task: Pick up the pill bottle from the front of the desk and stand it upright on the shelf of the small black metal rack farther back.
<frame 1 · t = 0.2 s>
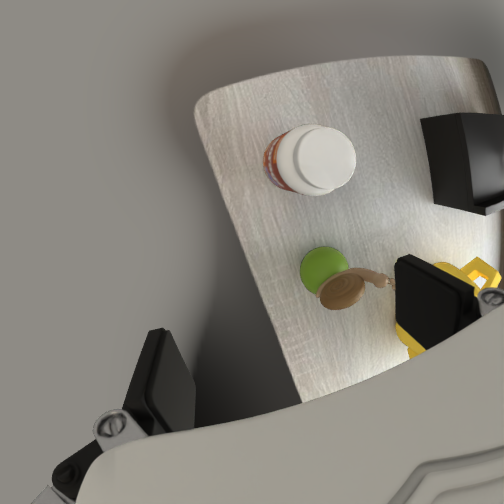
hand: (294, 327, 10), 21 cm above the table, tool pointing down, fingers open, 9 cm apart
pill bottle: (289, 162, 30), on the table
snail figurine: (319, 261, 33), on the table
rack: (462, 156, 32), on the table
teapot: (426, 306, 38), on the table
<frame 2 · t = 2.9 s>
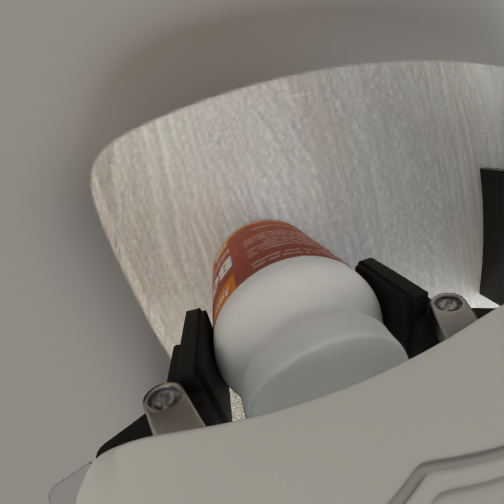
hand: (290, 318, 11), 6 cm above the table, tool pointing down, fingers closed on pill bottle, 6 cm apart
pill bottle: (264, 268, 17), on the table, touching gripper
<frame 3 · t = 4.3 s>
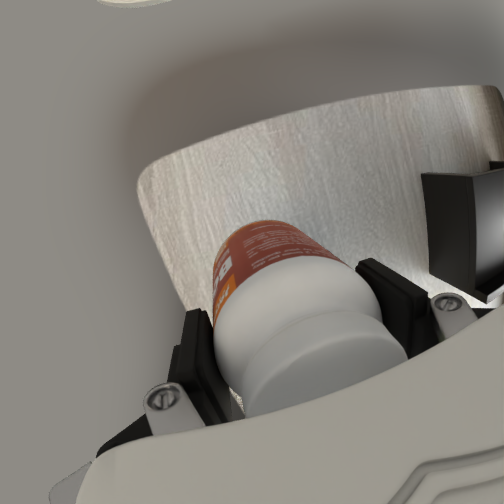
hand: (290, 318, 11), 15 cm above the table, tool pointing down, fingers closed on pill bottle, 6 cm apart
pill bottle: (264, 269, 17), point 9 cm above the table, touching gripper
rack: (467, 212, 28), on the table
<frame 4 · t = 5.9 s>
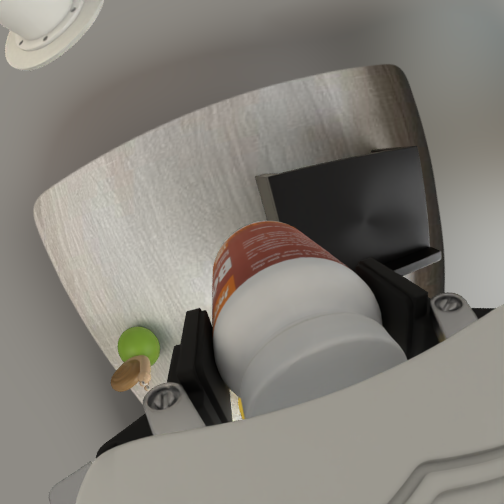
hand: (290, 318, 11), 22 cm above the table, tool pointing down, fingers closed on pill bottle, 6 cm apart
pill bottle: (264, 269, 17), point 15 cm above the table, touching gripper
snail figurine: (146, 334, 34), on the table
rack: (333, 209, 33), on the table
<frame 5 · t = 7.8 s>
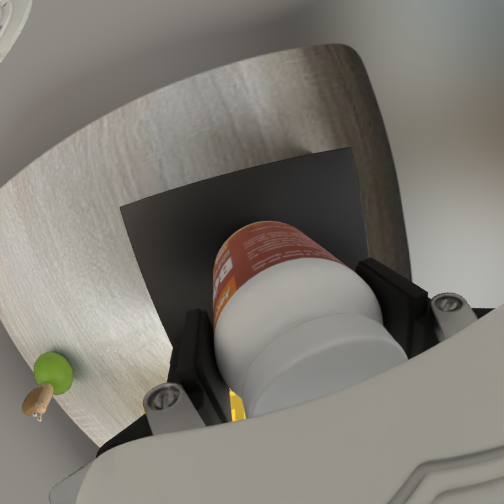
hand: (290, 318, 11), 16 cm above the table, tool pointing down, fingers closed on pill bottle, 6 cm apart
pill bottle: (265, 270, 17), point 10 cm above the table, touching gripper
snail figurine: (63, 359, 28), on the table
rack: (247, 234, 27), on the table
teapot: (216, 413, 33), on the table
when the fingers open (14 cm above the table, at t = 9.0 s): pill bottle stays where it is, resting on rack.
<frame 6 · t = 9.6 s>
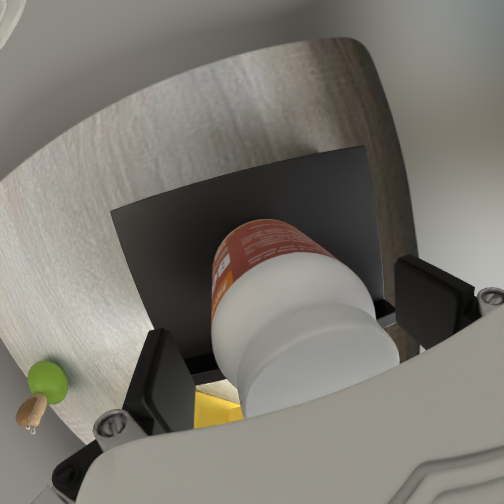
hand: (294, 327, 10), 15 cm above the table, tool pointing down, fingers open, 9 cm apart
pill bottle: (263, 267, 17), point 8 cm above the table, touching rack
snail figurine: (58, 367, 26), on the table
rack: (250, 239, 25), on the table
teapot: (217, 423, 31), on the table
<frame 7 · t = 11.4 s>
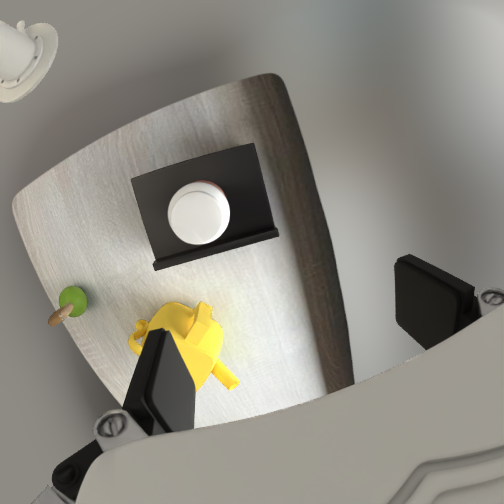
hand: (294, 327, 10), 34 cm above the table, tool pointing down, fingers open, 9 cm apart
pill bottle: (202, 204, 35), point 8 cm above the table, touching rack
snail figurine: (81, 293, 44), on the table
rack: (205, 199, 42), on the table
teapot: (188, 335, 48), on the table
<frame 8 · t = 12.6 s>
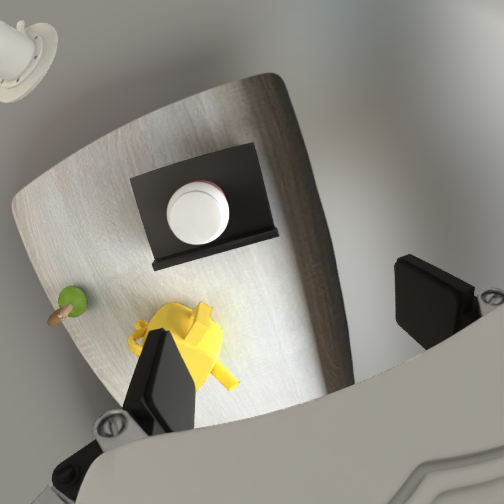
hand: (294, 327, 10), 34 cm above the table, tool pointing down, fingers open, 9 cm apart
pill bottle: (202, 204, 35), point 8 cm above the table, touching rack
snail figurine: (80, 293, 44), on the table
rack: (205, 199, 42), on the table
teapot: (188, 336, 48), on the table
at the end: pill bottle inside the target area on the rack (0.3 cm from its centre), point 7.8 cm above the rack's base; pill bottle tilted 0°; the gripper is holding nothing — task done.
